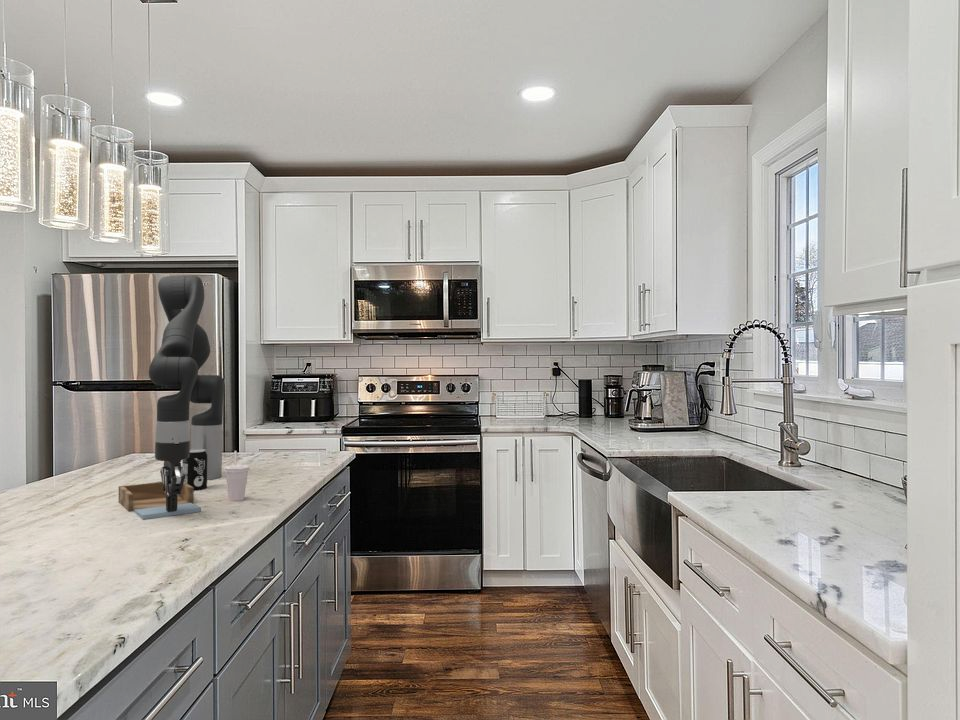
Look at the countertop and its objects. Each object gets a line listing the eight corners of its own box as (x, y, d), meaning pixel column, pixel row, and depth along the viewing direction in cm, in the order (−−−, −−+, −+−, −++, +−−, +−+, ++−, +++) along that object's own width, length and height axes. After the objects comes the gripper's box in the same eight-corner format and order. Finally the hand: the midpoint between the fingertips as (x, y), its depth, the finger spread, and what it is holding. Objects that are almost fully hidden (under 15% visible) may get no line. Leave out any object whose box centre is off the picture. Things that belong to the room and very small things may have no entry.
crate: (118, 505, 163) (118, 486, 163) (180, 497, 173) (180, 479, 173) (128, 515, 153) (128, 494, 153) (193, 506, 163) (193, 487, 163)
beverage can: (211, 489, 184) (211, 449, 184) (199, 494, 178) (199, 452, 178) (190, 488, 185) (190, 448, 185) (177, 493, 178) (177, 451, 178)
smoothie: (218, 503, 167) (219, 451, 167) (237, 498, 173) (238, 448, 173) (235, 506, 164) (235, 453, 164) (254, 501, 170) (254, 450, 170)
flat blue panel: (133, 509, 154) (142, 514, 146) (189, 501, 162) (201, 507, 154) (133, 514, 154) (142, 520, 146) (189, 507, 162) (201, 512, 154)
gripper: (149, 437, 153) (148, 508, 153) (162, 443, 143) (161, 519, 143) (182, 435, 158) (180, 503, 158) (197, 441, 148) (195, 514, 148)
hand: (171, 511), depth 150 cm, fingers closed
